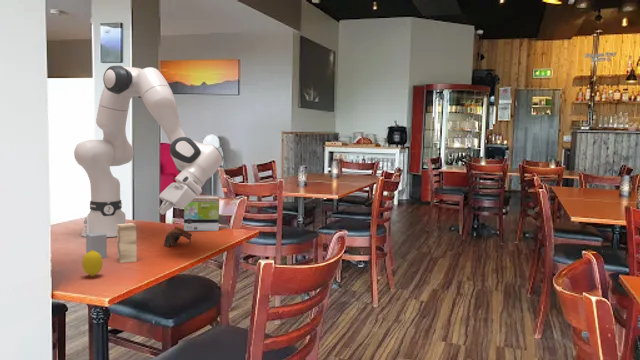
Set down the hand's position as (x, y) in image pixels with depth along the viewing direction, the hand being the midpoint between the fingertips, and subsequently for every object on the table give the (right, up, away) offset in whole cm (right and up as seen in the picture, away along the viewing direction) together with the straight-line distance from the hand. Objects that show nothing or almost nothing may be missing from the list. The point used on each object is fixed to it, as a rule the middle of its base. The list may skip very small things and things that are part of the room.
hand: (159, 213), depth 177 cm
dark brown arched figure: (+1, -14, +19) cm, 23 cm away
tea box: (+2, -11, +52) cm, 53 cm away
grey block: (-21, -15, -1) cm, 26 cm away
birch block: (-10, -16, -4) cm, 19 cm away
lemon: (-12, -18, -24) cm, 32 cm away
